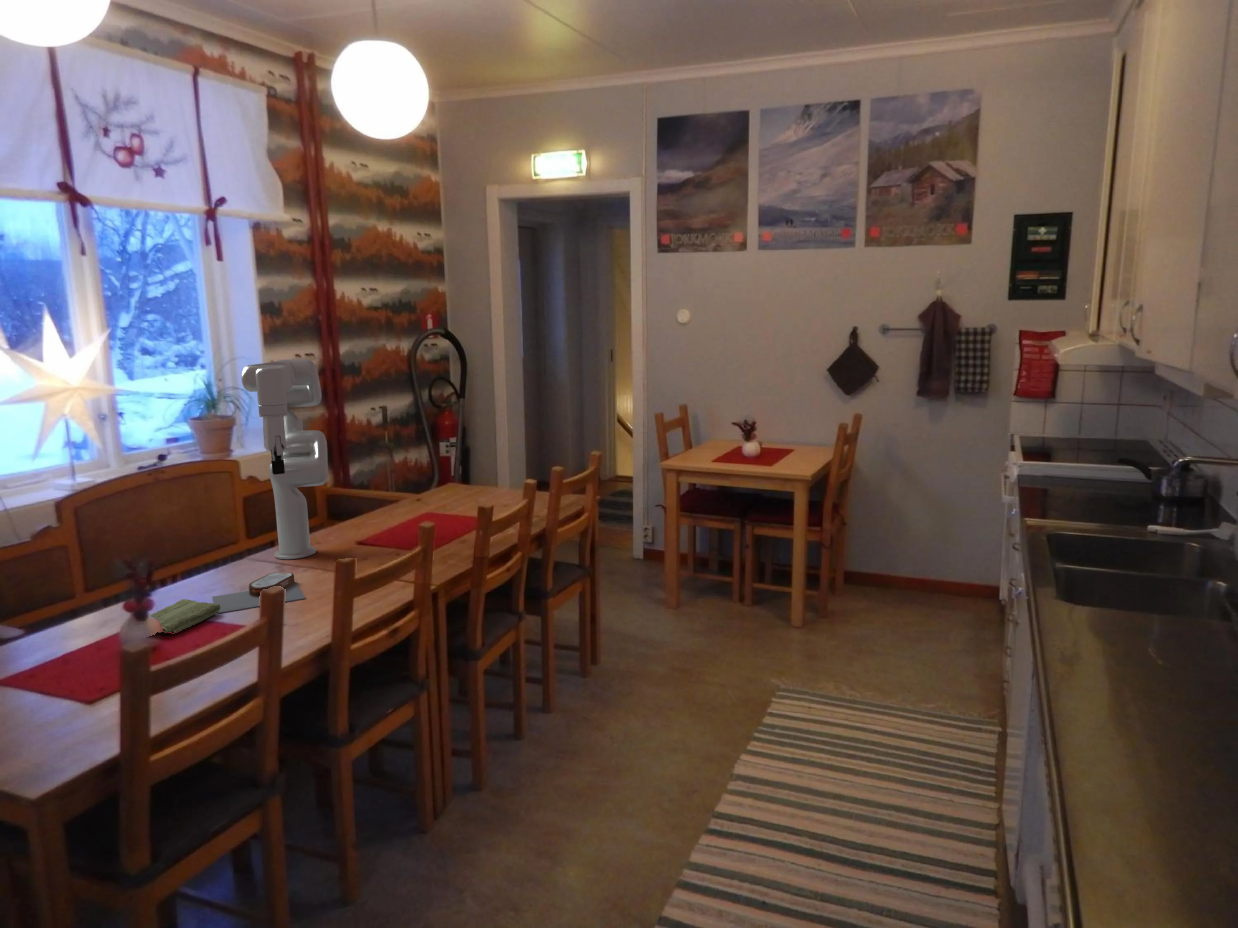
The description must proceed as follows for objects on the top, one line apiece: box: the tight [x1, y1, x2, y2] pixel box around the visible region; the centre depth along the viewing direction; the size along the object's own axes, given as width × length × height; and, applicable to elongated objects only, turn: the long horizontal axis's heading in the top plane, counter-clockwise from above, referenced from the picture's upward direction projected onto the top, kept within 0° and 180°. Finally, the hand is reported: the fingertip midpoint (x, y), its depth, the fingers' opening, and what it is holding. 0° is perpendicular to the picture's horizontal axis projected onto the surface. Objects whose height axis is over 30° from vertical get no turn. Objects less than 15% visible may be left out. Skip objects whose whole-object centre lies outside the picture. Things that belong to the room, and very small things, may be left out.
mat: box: [211, 582, 307, 615], centre depth 232 cm, size 15×22×1 cm
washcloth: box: [149, 598, 221, 634], centre depth 214 cm, size 13×18×3 cm
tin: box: [248, 571, 296, 596], centre depth 239 cm, size 15×3×8 cm
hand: (278, 473), depth 245 cm, fingers closed
